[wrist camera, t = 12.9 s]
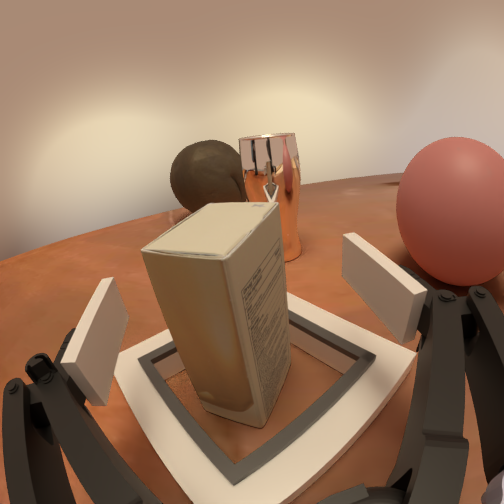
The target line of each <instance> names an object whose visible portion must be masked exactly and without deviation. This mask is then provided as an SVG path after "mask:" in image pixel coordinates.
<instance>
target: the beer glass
mask: <svg viewBox="0 0 504 504" xmlns="http://www.w3.org/2000/svg"><path fill="white" fill-rule="evenodd" d="M239 149H240V166H241V175H242V181H243V186H244V190H245V194H246V197H247V200H248V202H278V203H279V207H280V218H281V228H282V239H283V250H284V262H287V261H291V260H293V259H295V258H297V257H298V256H299V255H300V254H301V252H302V248H301V244H300V240H299V236H298V230H297V215H298V205H299V196H300V181H301V177H300V163H299V156H298V150H297V144H296V139H295V133H280V134H268V135H258V136H251V137H244V138H240V139H239Z"/></svg>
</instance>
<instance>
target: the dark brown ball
mask: <svg viewBox="0 0 504 504" xmlns="http://www.w3.org/2000/svg"><path fill="white" fill-rule="evenodd" d="M170 183H171V187H172V190H173V192H174V194H175V196H176V198H177V199H178V201H179V202H180V203H181V204H182V206H183V207H185V208H186V209H188V210H189V211H190V212H192V213H194V212H196V211H198V210H199V209H201V208H202V207H204V206H206V205H207V204H209V203H229V202H245V201H246V199H247V197H246V194H245V190H244V186H243V181H242V175H241V166H240V155H239V154H238V153H237V152H236V151H235V150H234V149H233V148H232V147H231V146H230V145H228V144H226V143H224V142H221V141H217V140H208V141H201V142H197V143H194V144H192V145H189V146H187V147H186V148H184V149H183V150H182V151H181V152H180V153H179V154H178V155H177V157H176V158H175V160H174V162H173V163H172V167H171V173H170Z"/></svg>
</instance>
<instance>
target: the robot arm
mask: <svg viewBox="0 0 504 504" xmlns="http://www.w3.org/2000/svg"><path fill="white" fill-rule="evenodd" d="M342 277H343V278H344V279H345V280H346V281H347V282H348V283H349V285H350V286H351V287H352V288H353V289H354V290H355V291H356V292H357V293H358V295H359V296H360V297H361V298H362V299H363V300H364V301H365V303H366V304H367V305H368V306H369V307H370V308H371V309H372V311H373V312H374V313H375V314H376V315H377V316H378V318H379V319H380V320H381V321H382V322H383V323H384V325H385V326H386V327H387V328H388V329H389V330H390V332H391V333H392V334H393V335H394V336H395V338H396V339H397V340H398V341H399V342H400V344H401V345H402V344H405V343H407V342H409V341H412V340H414V338H415V335H416V331H417V330H418V331H419V332H420V333H421V334H422V335H421V338H420V341H419V344H418V347H417V350H416V352H418V351H419V353H418V362H417V370H416V377H415V384H414V390H413V395H412V401H411V406H410V411H409V416H408V420H407V425H406V429H405V433H404V437H403V441H402V445H401V448H400V452H399V455H398V459H397V462H396V465H395V467H394V469H393V471H392V473H391V475H390V477H389V479H388V481H387V483H386V486H385V487H368V488H365V486H364V484H360V485H358V486H355V487H353V488H350V489H347V490H345V491H342V492H339V493H336V494H333V495H331V496H329V497H327V498H325V499H324V500H322V501H320V502H318V503H317V504H459V500H460V496H461V491H462V487H463V482H464V477H465V471H466V465H467V459H468V451H469V442H468V439H465V438H463V424H464V409H465V372H466V376H467V379H468V383H469V387H470V391H471V395H472V399H473V404H474V408H475V413H476V418H477V424H478V429H479V435H480V442H481V450H482V458H483V465H484V472H485V476H486V480H487V483H488V486H487V489H486V492H485V493H484V494H483V495H482V497H481V502H482V504H504V315H503V313H502V311H501V310H500V308H499V306H498V304H497V303H496V301H495V300H494V298H493V296H492V295H491V293H490V292H489V291H488V290H487V289H485V288H484V287H482V286H472V287H471V288H469V291H468V295H467V296H463V297H457V296H456V295H455V294H454V293H453V292H451V291H448V290H436V289H434V288H433V287H432V286H431V285H429V284H428V283H427V282H426V281H425V280H423V279H422V278H420V276H418V275H417V274H415V273H414V272H413V271H412V270H411V269H409V268H407V267H405V266H402V265H396V264H395V263H394V262H393V261H391V260H390V259H389V258H388V257H386V256H385V255H384V254H382V253H381V252H380V251H378V250H377V249H376V248H375V247H373V246H372V245H371V244H369V243H368V242H367V241H365V240H364V239H362V238H361V237H360V236H358V235H357V234H356V233H348V234H343V254H342ZM128 319H129V315H128V312H127V310H126V308H125V305H124V303H123V300H122V298H121V295H120V293H119V290H118V288H117V285H116V282H115V280H114V277H111V278H105V279H102V280H101V282H100V284H99V285H98V287H97V289H96V291H95V293H94V294H93V296H92V298H91V300H90V302H89V304H88V306H87V308H86V309H85V311H84V313H83V315H82V317H81V319H80V321H79V323H78V325H77V327H76V328H73V329H72V330H71V331H70V332H69V333H68V334H67V335H66V337H65V339H64V341H63V344H62V346H61V348H60V350H59V352H58V354H57V356H56V358H55V361H54V363H52V361H51V360H50V358H49V357H48V355H47V354H45V353H39V354H36V355H34V356H33V357H32V358H30V359H29V361H28V362H27V364H26V366H25V371H26V373H27V374H28V375H29V377H30V378H31V379H32V381H33V382H34V383H32V384H29V385H25V383H24V382H23V381H22V380H21V379H20V378H14V379H12V380H10V381H9V382H8V383H7V384H6V386H5V388H4V392H3V412H2V436H3V455H4V466H5V475H6V482H7V489H8V494H9V500H10V504H76V502H75V499H74V496H73V493H72V490H71V487H70V483H69V480H68V477H67V473H66V469H65V466H64V462H63V458H62V454H61V449H60V446H61V448H62V450H63V452H64V454H65V456H66V457H67V459H68V461H69V463H70V465H71V467H72V468H73V470H74V472H75V474H76V475H77V477H78V479H79V480H80V482H81V484H82V485H83V487H84V489H85V490H86V492H87V493H88V495H89V496H90V498H91V499H92V501H93V502H94V504H163V503H162V502H161V501H160V500H159V499H158V498H157V497H156V496H155V495H154V494H153V493H152V492H151V491H150V490H149V489H148V488H147V487H146V486H145V484H144V483H143V482H142V481H141V480H140V479H139V478H138V477H137V475H136V474H135V473H134V472H133V471H132V470H131V468H130V467H129V466H128V465H127V463H126V462H125V461H124V460H123V458H122V457H121V456H120V455H119V453H118V452H117V451H116V449H115V448H114V447H113V445H112V444H111V443H110V441H109V440H108V438H107V437H106V436H105V434H104V433H103V431H102V430H101V428H100V427H99V425H98V424H97V422H96V421H95V419H94V418H93V416H92V415H91V413H90V412H89V410H88V408H87V407H86V406H85V405H84V403H85V400H86V398H87V400H88V401H89V402H90V403H91V405H92V406H107V402H108V397H109V392H110V388H111V383H112V379H113V375H114V371H115V367H116V363H117V359H118V355H119V351H120V347H121V344H122V340H123V337H124V333H125V330H126V326H127V323H128ZM59 444H60V445H59Z"/></svg>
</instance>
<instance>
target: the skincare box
mask: <svg viewBox="0 0 504 504" xmlns="http://www.w3.org/2000/svg"><path fill="white" fill-rule="evenodd" d="M141 253H142V256H143V259H144V262H145V265H146V269H147V272H148V275H149V278H150V280H151V283H152V286H153V289H154V292H155V295H156V297H157V300H158V303H159V305H160V308H161V311H162V313H163V316H164V319H165V321H166V324H167V326H168V329H169V331H170V334H171V336H172V339H173V341H174V344H175V346H176V348H177V351H178V353H179V355H180V358H181V360H182V362H183V365H184V367H185V369H186V371H187V373H188V375H189V377H190V380H191V382H192V384H193V386H194V388H195V390H196V392H197V394H198V396H199V399H200V401H201V403H202V405H203V407H204V409H205V410H206V411H208V412H211V413H214V414H216V415H219V416H221V417H224V418H227V419H230V420H233V421H236V422H239V423H243V424H246V425H250V426H253V427H257V428H262V427H264V425H265V424H266V422H267V419H268V418H269V416H270V413H271V411H272V409H273V407H274V405H275V403H276V400H277V398H278V396H279V393H280V391H281V388H282V386H283V384H284V381H285V378H286V376H287V373H288V370H289V367H290V364H291V349H290V332H289V316H288V302H287V288H286V274H285V262H284V250H283V239H282V228H281V218H280V207H279V203H278V202H229V203H209V204H207V205H206V206H204V207H202V208H201V209H199V210H198V211H196V212H194V213H193V214H191V215H190V216H188V217H187V218H185V219H184V220H183V221H181V222H179V223H178V224H177V225H175V226H173V227H172V228H171V229H169V230H168V231H166V232H165V233H163V234H162V235H160V236H159V237H158V238H157V239H155V240H154V241H152V242H151V243H149V244H148V245H147V246H145V247H144V248H142V249H141Z"/></svg>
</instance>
